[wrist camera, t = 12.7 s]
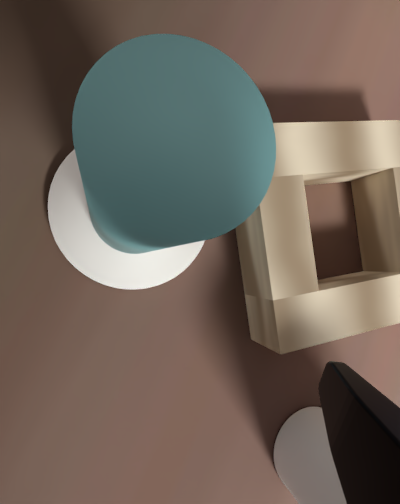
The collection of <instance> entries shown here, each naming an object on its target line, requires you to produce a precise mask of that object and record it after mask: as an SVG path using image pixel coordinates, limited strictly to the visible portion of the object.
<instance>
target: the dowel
mask: <svg viewBox="0 0 400 504" xmlns="http://www.w3.org/2000/svg"><path fill="white" fill-rule="evenodd" d="M72 134H73V144H74V149H75V153H76V157H77V162H78V166H79V170H80V175H81V179H82V183H83V188H84V192H85V196H86V201H87V205H88V210H89V214H90V218H91V222H92V225H93V227H94V229H95V231H96V233H97V234H98V236H99V237H100V238H101V239H102V240H103V241H104V242H105V243H106V244H107V245H109V246H110V247H112V248H113V249H116V250H118V251H121V252H124V253H129V254H140V253H146V252H151V251H155V250H160V249H165V248H170V247H175V246H179V245H184V244H189V243H194V242H199V241H203V240H208V239H212V238H215V237H218V236H220V235H223V234H225V233H227V232H229V231H231V230H233V229H234V228H236V227H237V226H239V225H240V224H241V223H243V222H244V221H245V220H246V219H247V218H248V217H249V216H250V215H251V214H252V213H253V212H254V211H255V210H256V208H257V207H258V206H259V205H260V203H261V201H262V200H263V198H264V196H265V195H266V193H267V190H268V188H269V186H270V183H271V180H272V176H273V173H274V168H275V161H276V138H275V131H274V126H273V121H272V118H271V115H270V112H269V109H268V107H267V105H266V103H265V100H264V98H263V96H262V95H261V93H260V91H259V90H258V88H257V86H256V85H255V83H254V82H253V81H252V79H251V78H250V77H249V76H248V74H247V73H246V72H245V71H244V70H243V69H242V68H241V67H240V66H239V65H238V64H237V63H236V62H234V61H233V60H232V59H231V58H230V57H228V56H227V55H225V54H224V53H223V52H221V51H220V50H218V49H216V48H214V47H212V46H210V45H209V44H207V43H204V42H201V41H199V40H196V39H193V38H189V37H185V36H181V35H173V34H152V35H145V36H140V37H137V38H134V39H130V40H128V41H126V42H124V43H121V44H119V45H117V46H116V47H114V48H113V49H111V50H110V51H108V52H107V53H105V54H104V55H103V56H102V57H101V58H100V59H99V60H98V61H97V62H96V63H95V64H94V65H93V67H92V68H91V69H90V71H89V72H88V73H87V75H86V77H85V79H84V80H83V82H82V84H81V86H80V89H79V91H78V94H77V97H76V100H75V105H74V110H73V119H72Z"/></svg>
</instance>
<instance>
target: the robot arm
mask: <svg viewBox="0 0 400 504" xmlns="http://www.w3.org/2000/svg"><path fill="white" fill-rule="evenodd" d="M318 390H319V397H320V402H321V407H322V412H323V417H324V422H325V427H326V432H327V437H328V442H329V446H330V450H331V454H332V457H333V461H334V464H335V467H336V471H337V474H338V477H339V480H340V483H341V487H342V490H343V493H344V496H345V500H346V503H347V504H400V408H399V407H398V406H397V405H396V404H394V403H393V402H392V401H391V400H389V399H388V398H387V397H386V396H384V395H383V394H382V393H381V392H380V391H378V390H377V389H376V388H375V387H373V386H372V385H371V384H370V383H368V382H367V381H366V380H365V379H363V378H362V377H361V376H360V375H359V374H357V373H356V372H355V371H354V370H352V369H351V368H350V367H349V366H347V365H346V364H345V363H342V362H334V361H330V362H328V363H327V364H326V366H325V369H324V372H323V374H322V377H321V380H320V382H319V388H318Z"/></svg>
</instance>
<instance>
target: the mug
mask: <svg viewBox="0 0 400 504" xmlns="http://www.w3.org/2000/svg"><path fill="white" fill-rule="evenodd" d="M274 464H275V468H276V471H277V474H278V476H279V477H280V479H281V481H282V482H283V483H284V485H285V486H286V487H287V488H288V490H289V491H290V492H291V494H292V495H293V496H294V497H295V499H296V500H297V502H298V503H299V504H347V503H346V500H345V496H344V493H343V490H342V487H341V483H340V480H339V477H338V474H337V471H336V467H335V464H334V461H333V457H332V454H331V450H330V446H329V442H328V437H327V432H326V427H325V422H324V417H323V412H322V408H321V407H307V408H303V409H301V410H299V411H297V412H296V413H294V414H293V415H291V416H290V417H289V418H288V419H287V420H286V422H285V423H284V424H283V426H282V427H281V429H280V431H279V433H278V435H277V438H276V441H275V446H274Z"/></svg>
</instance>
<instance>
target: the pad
mask: <svg viewBox="0 0 400 504" xmlns="http://www.w3.org/2000/svg"><path fill="white" fill-rule="evenodd" d="M48 218H49V223H50V227H51V231H52V233H53V236H54V239H55V241H56V243H57V245H58V247H59V248H60V250H61V252H62V253H63V254H64V256H65V257H66V258H67V260H68V261H69V262H70V263H71V264H72V265H73V266H74V267H75V268H76V269H78V270H79V271H80V272H82V273H83V274H84V275H86V276H87V277H89V278H91V279H92V280H94V281H97V282H99V283H101V284H104V285H107V286H111V287H114V288H120V289H144V288H149V287H154V286H157V285H160V284H162V283H165V282H167V281H169V280H171V279H173V278H174V277H176V276H177V275H179V274H180V273H181V272H183V271H184V270H185V269H186V268H187V267H188V266H189V265H190V264H191V263H192V261H193V260H194V259H195V258H196V256H197V255H198V253H199V252H200V250H201V248H202V246H203V244H204V241H205V240H203V241H199V242H194V243H189V244H184V245H179V246H175V247H170V248H165V249H160V250H155V251H151V252H146V253H140V254H129V253H124V252H121V251H118V250H116V249H113V248H112V247H110V246H109V245H107V244H106V243H105V242H104V241H103V240H102V239H101V238H100V237H99V236H98V234H97V233H96V231H95V229H94V227H93V225H92V222H91V218H90V214H89V210H88V205H87V201H86V196H85V192H84V188H83V183H82V179H81V175H80V170H79V166H78V162H77V157H76V153H75V149H74V150H73V151H72V152H71V153H70V154H69V155H68V156H67V157H66V158H65V159H64V161H63V162H62V163H61V165H60V166H59V168H58V170H57V172H56V173H55V175H54V178H53V181H52V183H51V186H50V191H49V196H48Z"/></svg>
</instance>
